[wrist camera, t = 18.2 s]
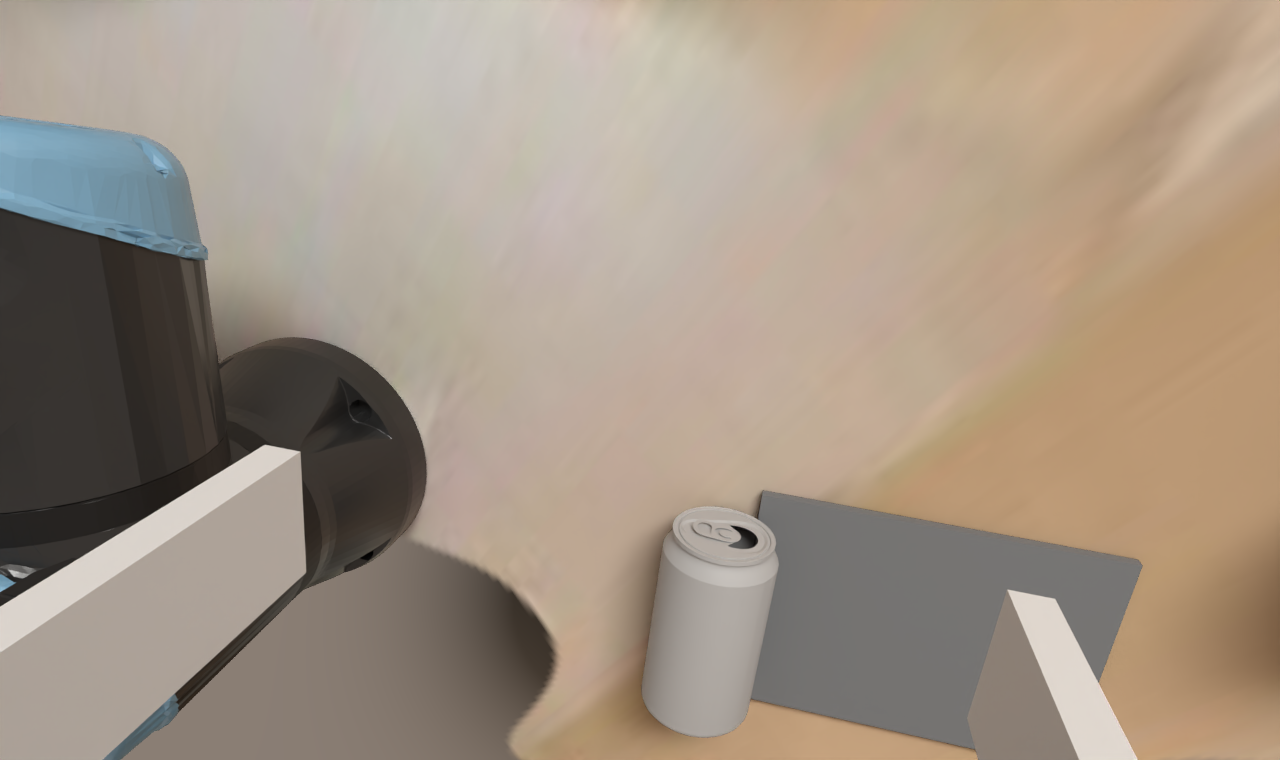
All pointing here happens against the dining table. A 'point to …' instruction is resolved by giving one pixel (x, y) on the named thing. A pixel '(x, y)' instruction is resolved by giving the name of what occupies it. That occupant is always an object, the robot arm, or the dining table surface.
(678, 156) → the dining table surface
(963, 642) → the mat
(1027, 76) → the dining table surface
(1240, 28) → the dining table surface
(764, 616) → the beverage can
